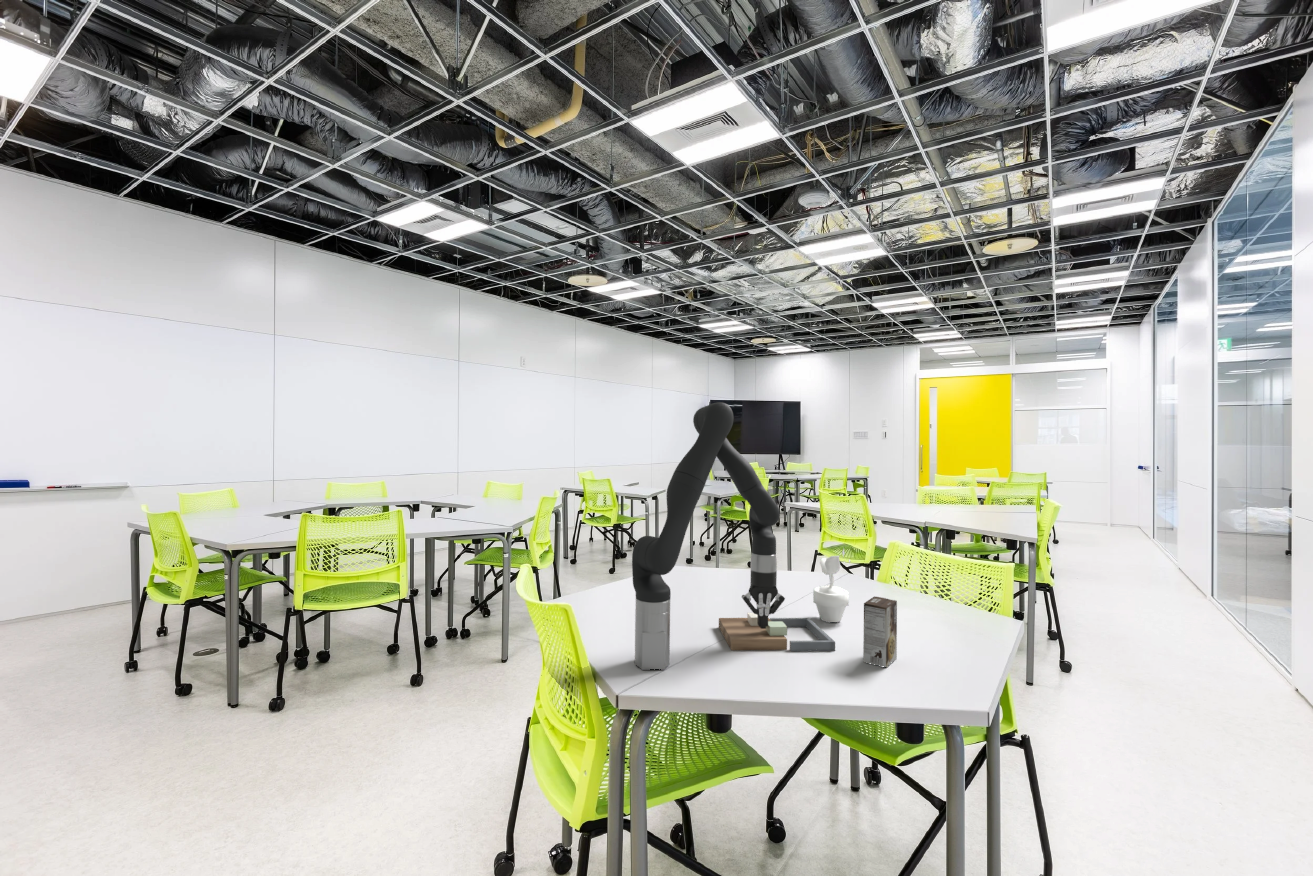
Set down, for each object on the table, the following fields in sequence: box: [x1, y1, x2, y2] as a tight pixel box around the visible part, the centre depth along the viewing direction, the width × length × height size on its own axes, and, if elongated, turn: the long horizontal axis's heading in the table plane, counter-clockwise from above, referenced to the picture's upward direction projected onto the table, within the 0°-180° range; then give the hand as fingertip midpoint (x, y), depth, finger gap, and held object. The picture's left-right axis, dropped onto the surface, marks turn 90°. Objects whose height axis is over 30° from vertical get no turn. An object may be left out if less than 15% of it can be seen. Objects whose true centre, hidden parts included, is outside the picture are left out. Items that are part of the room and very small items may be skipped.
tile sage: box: [766, 621, 788, 637], centre depth 167 cm, size 5×5×2 cm
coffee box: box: [862, 596, 898, 668], centre depth 154 cm, size 9×6×16 cm
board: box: [718, 617, 788, 651], centre depth 171 cm, size 20×16×3 cm
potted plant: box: [812, 547, 852, 623], centre depth 190 cm, size 13×12×25 cm
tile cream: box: [746, 612, 758, 626], centre depth 176 cm, size 5×5×2 cm
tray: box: [769, 617, 836, 652], centre depth 172 cm, size 22×13×2 cm, turn 4°
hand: (762, 627), depth 167 cm, fingers closed
